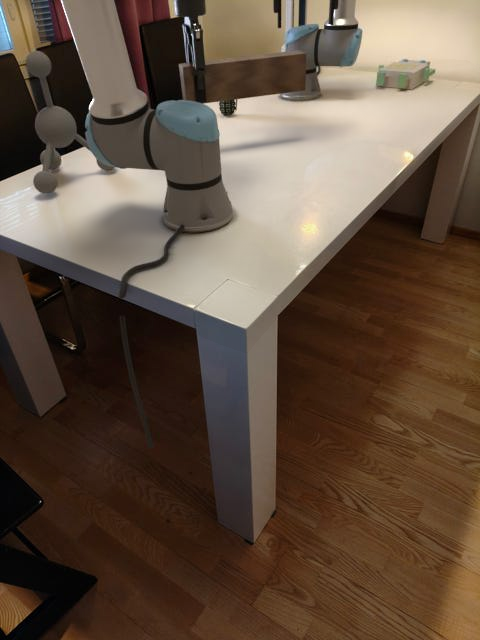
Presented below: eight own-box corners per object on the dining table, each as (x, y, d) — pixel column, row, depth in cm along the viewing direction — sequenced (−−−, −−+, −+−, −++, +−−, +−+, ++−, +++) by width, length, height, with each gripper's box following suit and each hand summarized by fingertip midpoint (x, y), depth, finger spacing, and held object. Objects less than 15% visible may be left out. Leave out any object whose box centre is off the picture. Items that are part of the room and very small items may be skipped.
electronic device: (284, 79, 208) (284, -5, 189) (278, 76, 213) (278, -6, 195) (311, 76, 210) (314, -7, 191) (304, 73, 216) (307, -8, 197)
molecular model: (127, 184, 124) (101, 51, 106) (38, 200, 118) (-6, 64, 100) (112, 155, 142) (87, 38, 123) (33, 169, 136) (-5, 48, 118)
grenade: (217, 117, 168) (214, 86, 162) (221, 112, 172) (219, 82, 166) (235, 117, 166) (233, 86, 160) (239, 113, 171) (238, 82, 165)
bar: (186, 105, 129) (182, 67, 123) (183, 101, 133) (178, 63, 127) (305, 90, 135) (306, 53, 130) (298, 86, 140) (299, 50, 134)
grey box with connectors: (392, 57, 203) (441, 60, 193) (390, 73, 207) (438, 78, 197) (367, 69, 187) (418, 73, 177) (365, 87, 191) (415, 92, 181)
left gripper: (213, -2, 111) (220, 105, 125) (196, -8, 125) (204, 90, 139) (180, 0, 110) (192, 109, 124) (167, -5, 124) (179, 93, 138)
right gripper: (357, -81, 118) (349, 21, 131) (254, -74, 119) (257, 26, 132) (364, -82, 112) (355, 25, 126) (256, -75, 113) (258, 30, 126)
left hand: (198, 99), depth 131 cm, fingers closed on bar, 5 cm apart
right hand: (305, 26), depth 129 cm, fingers open, 13 cm apart
